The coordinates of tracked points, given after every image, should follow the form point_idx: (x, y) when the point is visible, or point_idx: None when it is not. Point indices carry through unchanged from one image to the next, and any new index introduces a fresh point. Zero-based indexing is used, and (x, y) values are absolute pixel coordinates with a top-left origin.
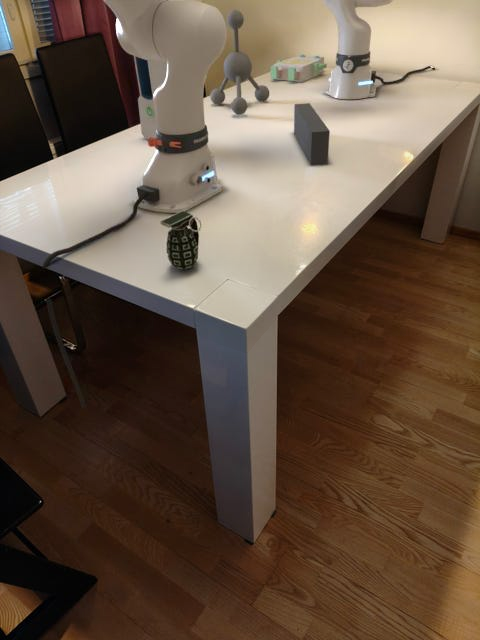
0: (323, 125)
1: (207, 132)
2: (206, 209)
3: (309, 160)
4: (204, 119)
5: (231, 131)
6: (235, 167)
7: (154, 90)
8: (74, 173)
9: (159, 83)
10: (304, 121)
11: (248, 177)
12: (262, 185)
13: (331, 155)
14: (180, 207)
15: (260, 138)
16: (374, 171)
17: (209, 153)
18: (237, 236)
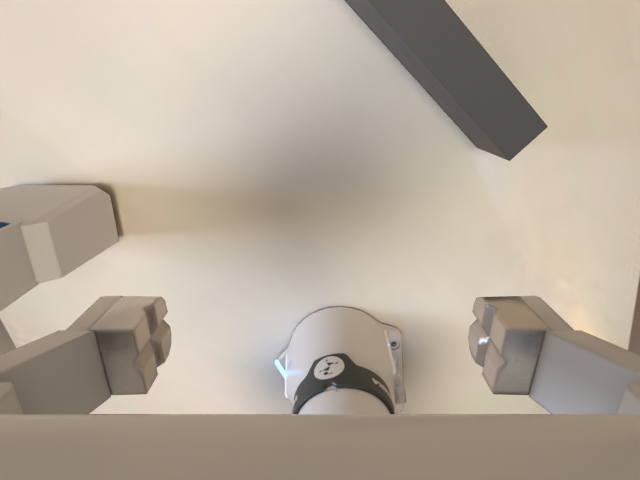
0: (513, 96)
1: (383, 390)
2: (422, 382)
3: (470, 138)
4: (383, 412)
5: (150, 61)
6: (346, 245)
7: (19, 292)
8: (134, 411)
9: (1, 279)
10: (439, 82)
11: (401, 266)
12: (445, 278)
13: None
14: (397, 409)
15: (260, 62)
16: (620, 96)
17: (393, 378)
18: (509, 407)
